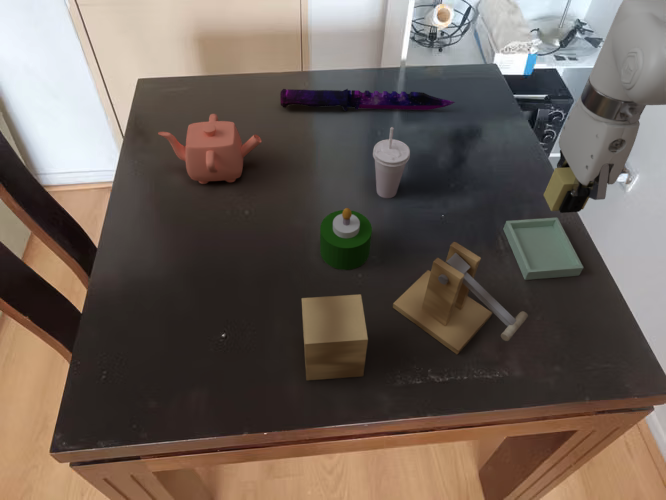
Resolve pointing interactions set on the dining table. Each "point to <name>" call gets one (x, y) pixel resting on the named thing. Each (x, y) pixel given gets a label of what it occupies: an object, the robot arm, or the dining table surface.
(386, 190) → the smoothie
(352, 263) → the candle
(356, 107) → the knife
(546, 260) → the butter dish
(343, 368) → the stand
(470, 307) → the slicer
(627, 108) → the robot arm
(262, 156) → the dining table surface
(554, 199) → the butter
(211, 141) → the teapot
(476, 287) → the lever
